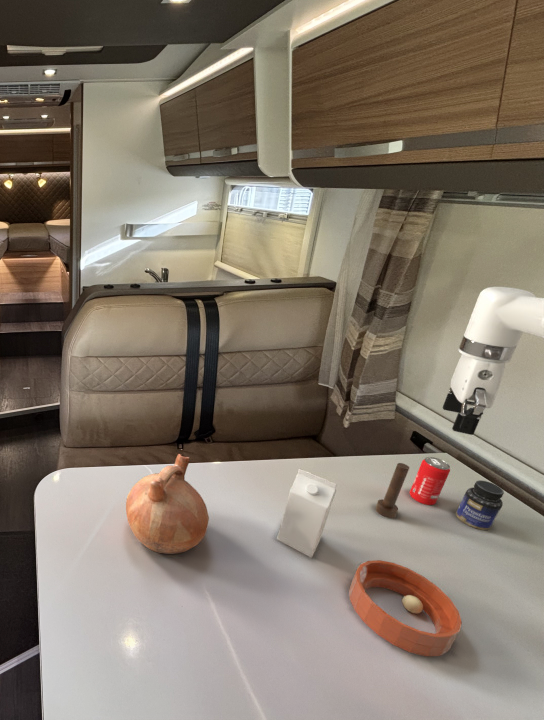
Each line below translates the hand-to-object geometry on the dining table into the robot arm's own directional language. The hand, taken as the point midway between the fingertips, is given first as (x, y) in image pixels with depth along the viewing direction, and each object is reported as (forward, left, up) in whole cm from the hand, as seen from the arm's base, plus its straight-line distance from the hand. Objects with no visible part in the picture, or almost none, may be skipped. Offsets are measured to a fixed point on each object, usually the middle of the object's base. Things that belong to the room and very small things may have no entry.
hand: (456, 421), depth 92 cm
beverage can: (-3, -11, -30) cm, 32 cm away
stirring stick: (+5, 0, -29) cm, 30 cm away
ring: (+6, +31, -29) cm, 43 cm away
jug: (+50, +36, -30) cm, 68 cm away
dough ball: (+4, +28, -27) cm, 39 cm away
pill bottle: (-12, -8, -30) cm, 33 cm away
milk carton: (+23, +21, -30) cm, 43 cm away
